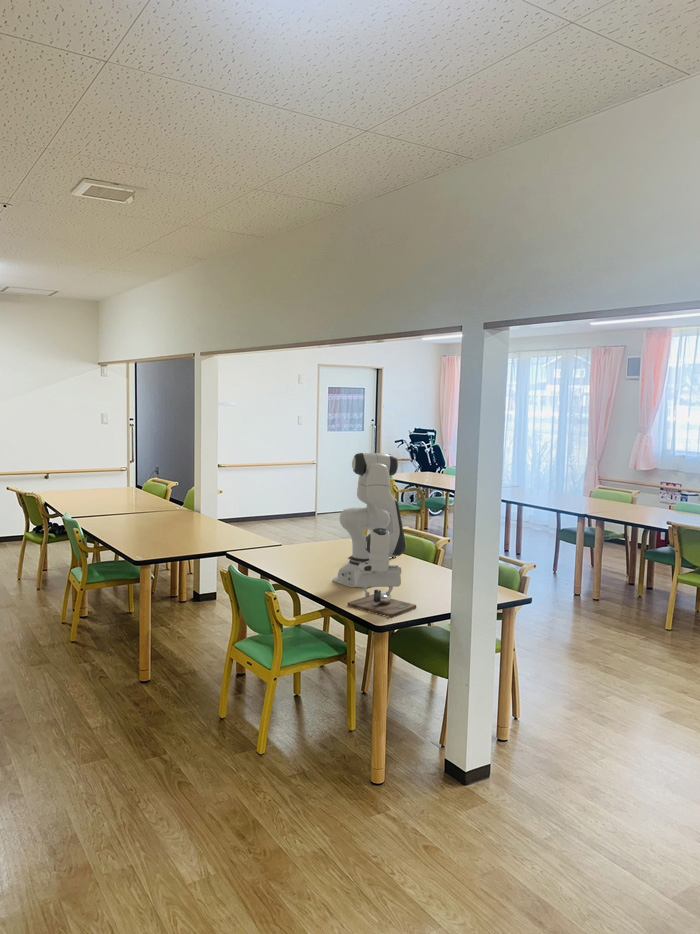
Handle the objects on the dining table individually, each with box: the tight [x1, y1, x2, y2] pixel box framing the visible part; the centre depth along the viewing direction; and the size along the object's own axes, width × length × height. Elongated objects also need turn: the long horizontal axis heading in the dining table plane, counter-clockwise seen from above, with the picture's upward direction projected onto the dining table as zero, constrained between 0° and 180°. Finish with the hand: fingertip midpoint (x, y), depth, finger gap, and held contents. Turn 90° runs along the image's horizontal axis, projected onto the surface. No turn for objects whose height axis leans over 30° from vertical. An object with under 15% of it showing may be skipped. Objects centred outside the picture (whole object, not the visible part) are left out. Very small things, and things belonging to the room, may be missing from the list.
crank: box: [373, 589, 392, 605], centre depth 310 cm, size 14×7×7 cm, turn 157°
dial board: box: [347, 593, 417, 619], centre depth 311 cm, size 24×20×2 cm
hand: (377, 596), depth 305 cm, fingers open, 8 cm apart
